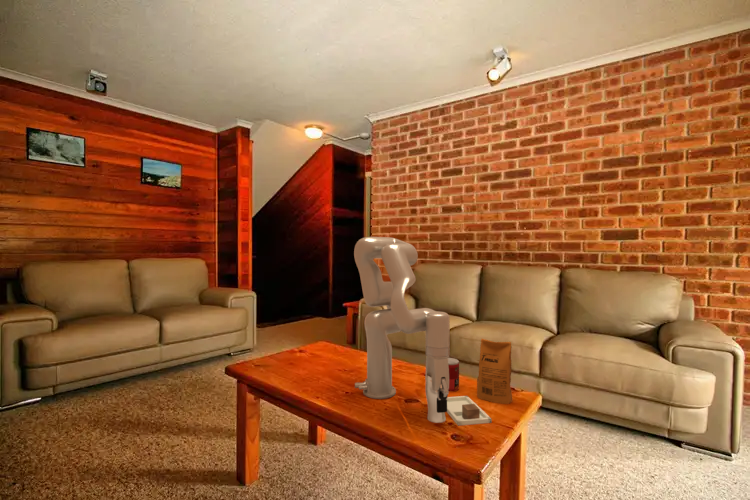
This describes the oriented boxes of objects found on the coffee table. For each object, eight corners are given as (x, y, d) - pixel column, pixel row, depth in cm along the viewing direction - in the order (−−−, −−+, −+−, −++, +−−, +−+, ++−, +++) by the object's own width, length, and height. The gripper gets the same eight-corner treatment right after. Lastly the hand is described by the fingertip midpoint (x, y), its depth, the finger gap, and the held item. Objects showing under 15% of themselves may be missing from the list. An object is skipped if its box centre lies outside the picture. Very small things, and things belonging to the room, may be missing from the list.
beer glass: (423, 417, 119) (423, 371, 119) (444, 416, 119) (444, 370, 120) (428, 427, 112) (428, 378, 112) (450, 426, 112) (450, 377, 113)
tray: (458, 429, 111) (458, 421, 111) (437, 404, 129) (437, 397, 129) (491, 426, 113) (491, 418, 113) (467, 402, 130) (467, 395, 130)
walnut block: (467, 423, 112) (467, 410, 112) (462, 417, 116) (462, 404, 116) (479, 421, 113) (479, 409, 113) (473, 416, 117) (473, 403, 117)
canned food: (459, 392, 139) (459, 363, 139) (438, 390, 141) (438, 362, 141) (458, 385, 147) (458, 358, 147) (438, 383, 149) (438, 356, 149)
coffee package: (480, 392, 140) (480, 335, 140) (514, 399, 133) (514, 339, 133) (473, 401, 131) (473, 340, 131) (509, 409, 125) (509, 345, 125)
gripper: (418, 344, 124) (418, 397, 124) (435, 359, 107) (435, 420, 107) (439, 343, 125) (439, 395, 125) (459, 358, 108) (459, 418, 108)
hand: (437, 406), depth 116 cm, fingers closed on beer glass, 6 cm apart
